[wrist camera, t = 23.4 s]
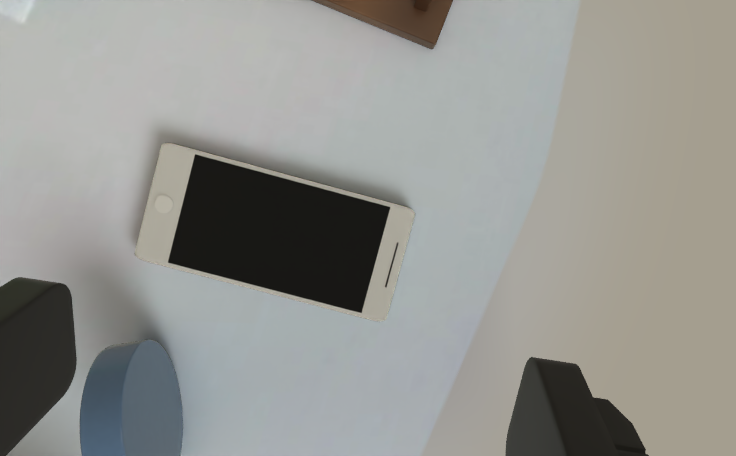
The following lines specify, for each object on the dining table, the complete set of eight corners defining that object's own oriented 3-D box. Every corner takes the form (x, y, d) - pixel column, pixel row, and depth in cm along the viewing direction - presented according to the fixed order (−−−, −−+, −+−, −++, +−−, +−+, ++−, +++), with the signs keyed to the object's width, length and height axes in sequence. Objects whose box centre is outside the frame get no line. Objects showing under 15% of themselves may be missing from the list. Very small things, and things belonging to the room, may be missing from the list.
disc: (180, 350, 36) (121, 327, 28) (185, 493, 33) (121, 513, 25) (149, 354, 36) (81, 333, 28) (151, 498, 33) (76, 520, 25)
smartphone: (166, 141, 33) (161, 140, 32) (414, 209, 34) (416, 209, 33) (138, 256, 34) (132, 258, 33) (384, 320, 34) (385, 324, 33)
